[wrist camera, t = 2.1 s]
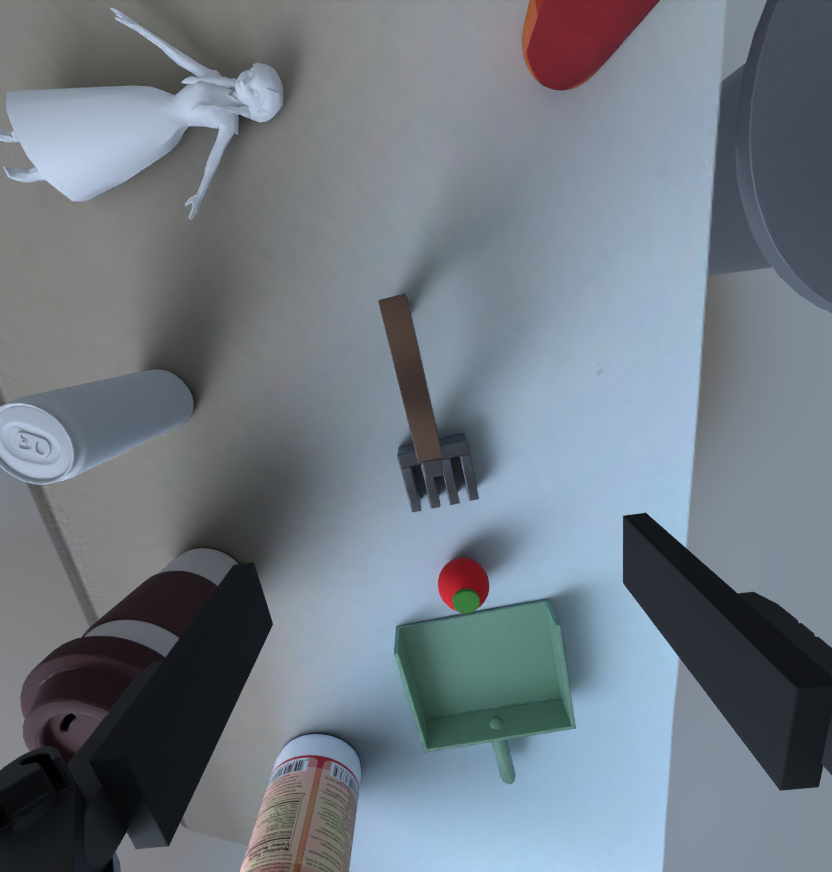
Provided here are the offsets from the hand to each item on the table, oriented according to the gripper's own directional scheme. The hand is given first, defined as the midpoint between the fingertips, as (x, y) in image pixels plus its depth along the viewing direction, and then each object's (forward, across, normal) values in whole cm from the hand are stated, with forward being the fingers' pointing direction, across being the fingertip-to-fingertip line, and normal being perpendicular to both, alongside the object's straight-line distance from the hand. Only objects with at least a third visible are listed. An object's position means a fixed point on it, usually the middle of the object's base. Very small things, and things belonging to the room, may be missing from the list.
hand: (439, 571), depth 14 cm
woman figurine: (+20, -15, +23) cm, 34 cm away
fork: (+19, 0, +2) cm, 19 cm away
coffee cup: (+20, -22, -12) cm, 32 cm away
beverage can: (+20, -20, +5) cm, 29 cm away
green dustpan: (+19, +2, -29) cm, 35 cm away
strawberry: (+17, +1, -14) cm, 22 cm away
